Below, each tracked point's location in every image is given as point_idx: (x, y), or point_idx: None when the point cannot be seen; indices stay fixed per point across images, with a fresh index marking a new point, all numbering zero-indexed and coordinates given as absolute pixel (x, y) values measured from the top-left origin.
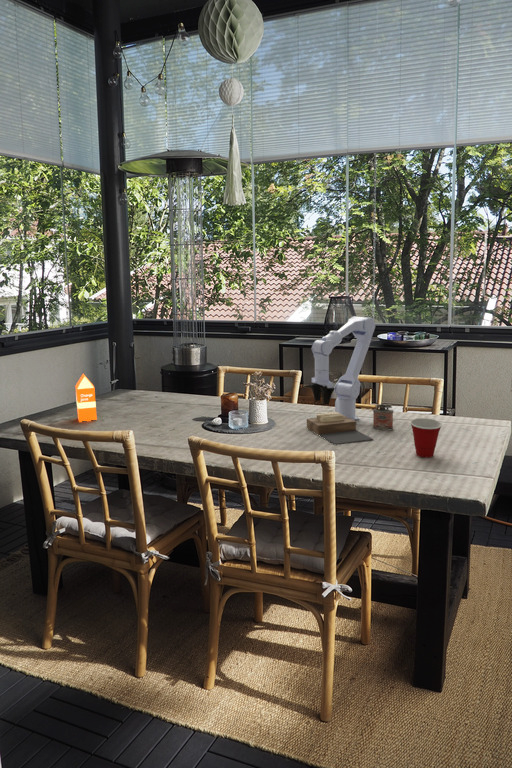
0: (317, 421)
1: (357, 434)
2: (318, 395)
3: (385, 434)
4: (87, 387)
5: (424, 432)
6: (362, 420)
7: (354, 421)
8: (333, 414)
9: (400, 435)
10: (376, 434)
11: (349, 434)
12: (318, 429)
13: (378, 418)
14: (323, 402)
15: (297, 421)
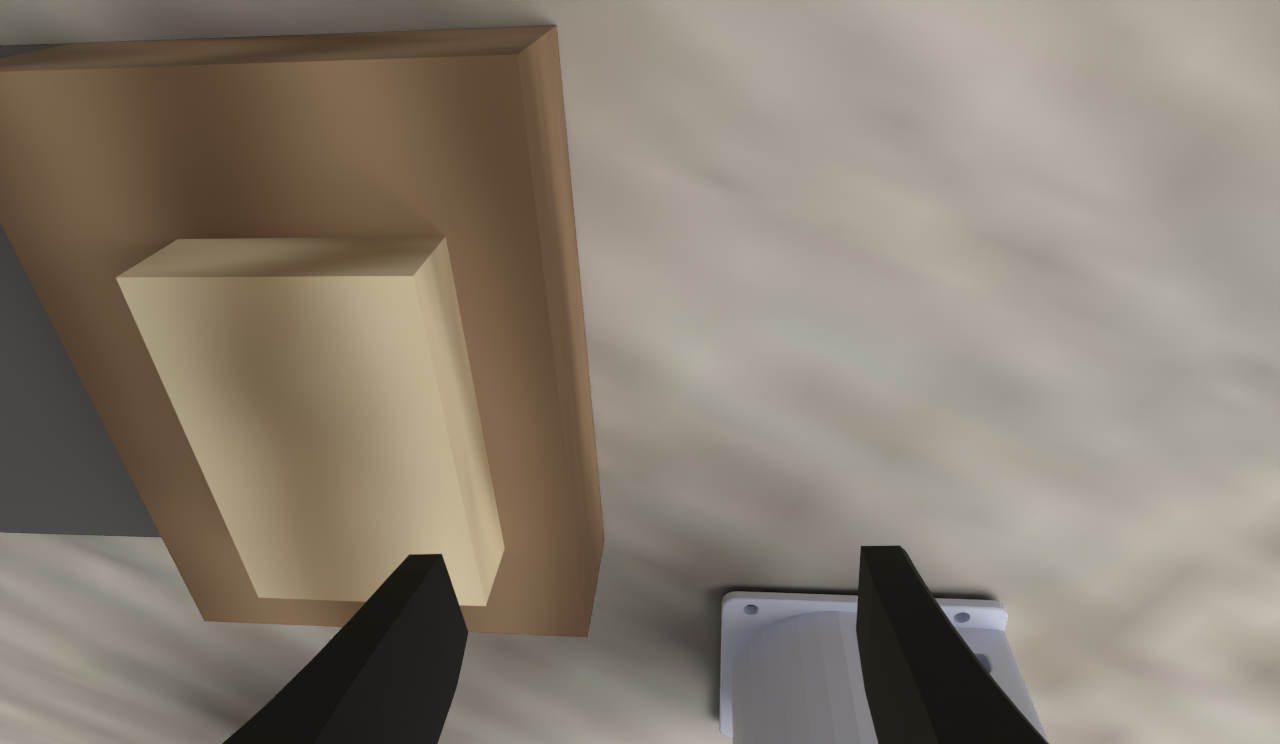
0: (253, 176)
1: (72, 481)
2: (888, 725)
3: (136, 667)
4: None
5: None
6: (684, 729)
7: (207, 608)
8: (332, 510)
9: (102, 727)
10: (137, 618)
11: (67, 413)
12: (11, 59)
13: None
14: (413, 581)
15: (1106, 53)
